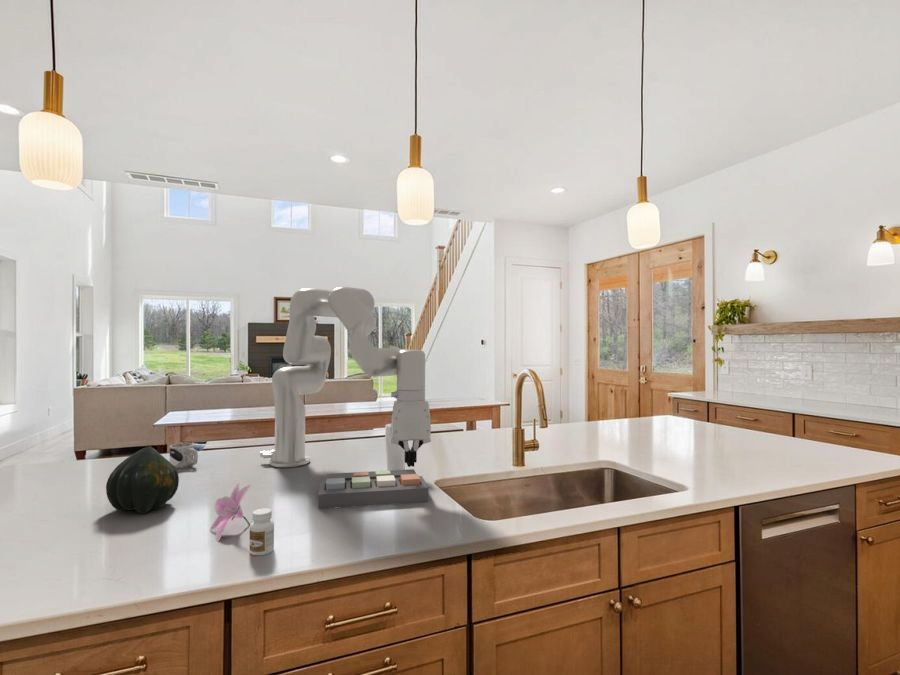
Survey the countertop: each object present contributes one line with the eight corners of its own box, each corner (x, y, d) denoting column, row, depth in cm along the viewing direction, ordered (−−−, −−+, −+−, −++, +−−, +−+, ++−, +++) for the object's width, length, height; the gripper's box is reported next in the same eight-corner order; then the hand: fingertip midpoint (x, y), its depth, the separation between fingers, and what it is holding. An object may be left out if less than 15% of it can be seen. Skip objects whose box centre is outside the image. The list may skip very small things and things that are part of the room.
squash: (110, 503, 102) (158, 442, 111) (80, 493, 110) (127, 437, 119) (162, 530, 111) (203, 472, 120) (131, 519, 119) (171, 465, 128)
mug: (164, 467, 150) (164, 446, 150) (183, 462, 156) (183, 441, 156) (187, 470, 146) (187, 449, 146) (205, 465, 153) (205, 444, 153)
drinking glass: (403, 477, 141) (403, 427, 141) (381, 476, 142) (382, 426, 142) (409, 471, 147) (410, 423, 147) (389, 470, 149) (389, 422, 149)
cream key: (377, 490, 121) (377, 481, 121) (376, 485, 126) (376, 476, 126) (395, 489, 122) (395, 480, 122) (393, 484, 127) (393, 475, 127)
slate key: (325, 493, 119) (326, 484, 119) (326, 488, 123) (326, 478, 123) (344, 492, 120) (344, 483, 120) (344, 486, 124) (344, 477, 124)
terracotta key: (402, 489, 123) (402, 479, 123) (400, 483, 127) (400, 474, 127) (419, 488, 124) (420, 478, 124) (417, 482, 128) (417, 473, 128)
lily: (218, 524, 108) (198, 493, 104) (269, 500, 111) (251, 469, 107) (214, 562, 97) (191, 529, 93) (270, 534, 100) (250, 501, 96)
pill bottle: (244, 553, 91) (244, 513, 91) (261, 544, 95) (261, 505, 95) (262, 557, 89) (262, 516, 89) (278, 548, 93) (278, 508, 93)
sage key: (352, 492, 120) (352, 482, 120) (351, 486, 125) (351, 477, 125) (370, 491, 121) (370, 481, 121) (369, 485, 126) (369, 476, 126)
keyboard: (318, 509, 115) (318, 491, 115) (321, 488, 130) (321, 472, 130) (428, 501, 121) (428, 484, 121) (418, 482, 136) (418, 467, 136)
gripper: (383, 398, 120) (383, 470, 120) (441, 397, 124) (441, 467, 123) (381, 395, 128) (381, 463, 128) (436, 393, 131) (435, 460, 131)
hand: (410, 465), depth 126 cm, fingers closed
